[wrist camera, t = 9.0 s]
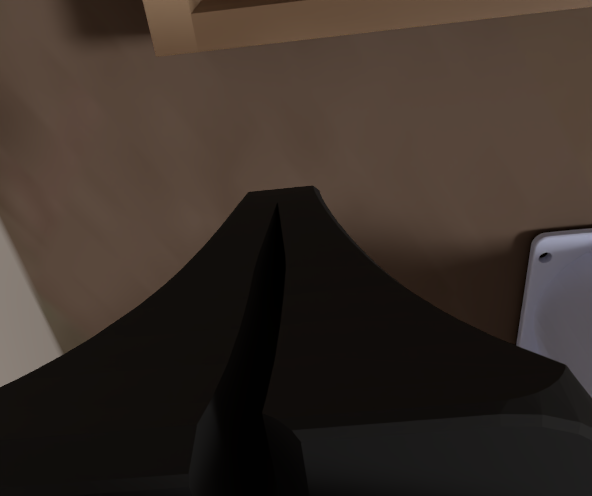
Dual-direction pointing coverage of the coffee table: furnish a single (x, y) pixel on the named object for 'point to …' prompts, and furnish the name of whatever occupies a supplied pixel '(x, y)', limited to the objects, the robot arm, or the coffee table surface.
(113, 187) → the coffee table surface
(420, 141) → the coffee table surface
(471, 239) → the coffee table surface
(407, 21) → the cubby
